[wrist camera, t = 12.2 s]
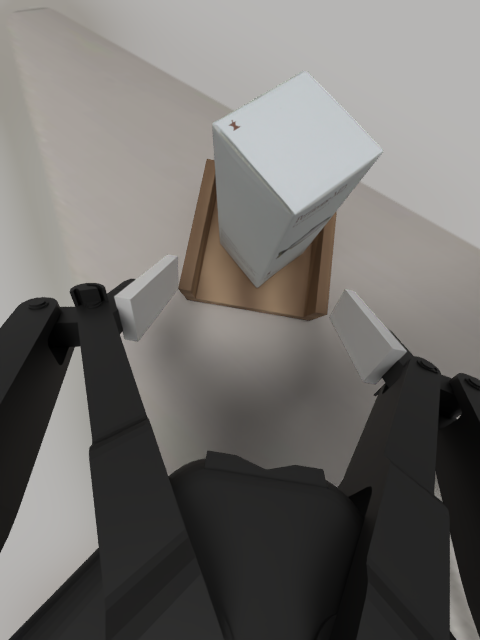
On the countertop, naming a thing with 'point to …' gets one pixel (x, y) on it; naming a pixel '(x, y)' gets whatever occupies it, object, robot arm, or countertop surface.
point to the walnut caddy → (232, 283)
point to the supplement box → (284, 172)
